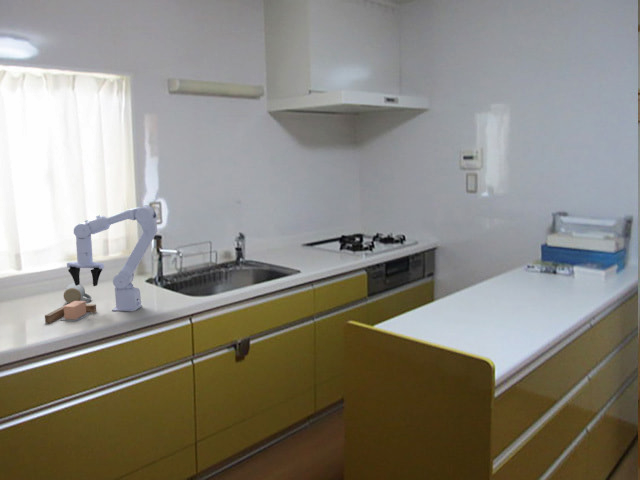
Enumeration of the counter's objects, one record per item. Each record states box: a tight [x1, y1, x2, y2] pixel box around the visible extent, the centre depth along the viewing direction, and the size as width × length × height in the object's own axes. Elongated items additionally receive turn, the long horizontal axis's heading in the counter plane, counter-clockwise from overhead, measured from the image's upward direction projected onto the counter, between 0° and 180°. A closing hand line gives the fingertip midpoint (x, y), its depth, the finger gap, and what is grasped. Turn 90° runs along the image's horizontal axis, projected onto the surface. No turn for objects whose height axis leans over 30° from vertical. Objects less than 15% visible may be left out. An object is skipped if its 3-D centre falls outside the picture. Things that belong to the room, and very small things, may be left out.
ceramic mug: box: [63, 282, 92, 304], centre depth 239 cm, size 11×8×8 cm
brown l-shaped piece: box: [44, 303, 97, 324], centre depth 217 cm, size 12×16×3 cm
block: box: [63, 300, 87, 319], centre depth 217 cm, size 8×4×5 cm, turn 174°
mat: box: [60, 312, 92, 322], centre depth 217 cm, size 7×10×1 cm
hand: (86, 285), depth 225 cm, fingers open, 7 cm apart
